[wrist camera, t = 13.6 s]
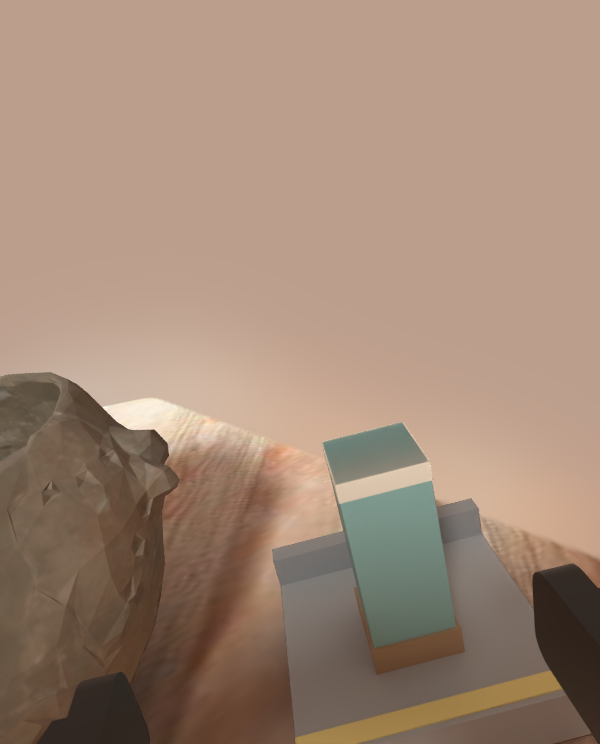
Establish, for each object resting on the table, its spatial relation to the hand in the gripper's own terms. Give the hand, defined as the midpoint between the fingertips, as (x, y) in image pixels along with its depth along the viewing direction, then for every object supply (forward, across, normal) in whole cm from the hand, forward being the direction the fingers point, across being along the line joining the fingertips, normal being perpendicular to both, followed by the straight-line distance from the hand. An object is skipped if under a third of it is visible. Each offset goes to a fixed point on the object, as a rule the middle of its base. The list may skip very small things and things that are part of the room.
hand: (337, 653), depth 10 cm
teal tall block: (+15, -4, +16) cm, 23 cm away
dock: (+15, -4, +19) cm, 25 cm away
